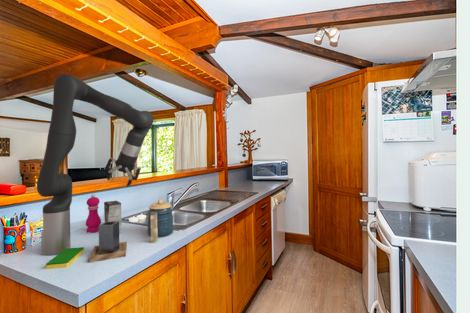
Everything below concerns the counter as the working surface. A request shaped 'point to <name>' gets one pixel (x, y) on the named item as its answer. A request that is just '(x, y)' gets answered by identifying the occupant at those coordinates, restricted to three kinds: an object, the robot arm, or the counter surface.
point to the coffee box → (113, 212)
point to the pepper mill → (93, 214)
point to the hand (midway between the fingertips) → (118, 182)
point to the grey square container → (109, 237)
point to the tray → (119, 253)
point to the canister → (161, 218)
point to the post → (154, 227)
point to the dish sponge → (65, 258)
